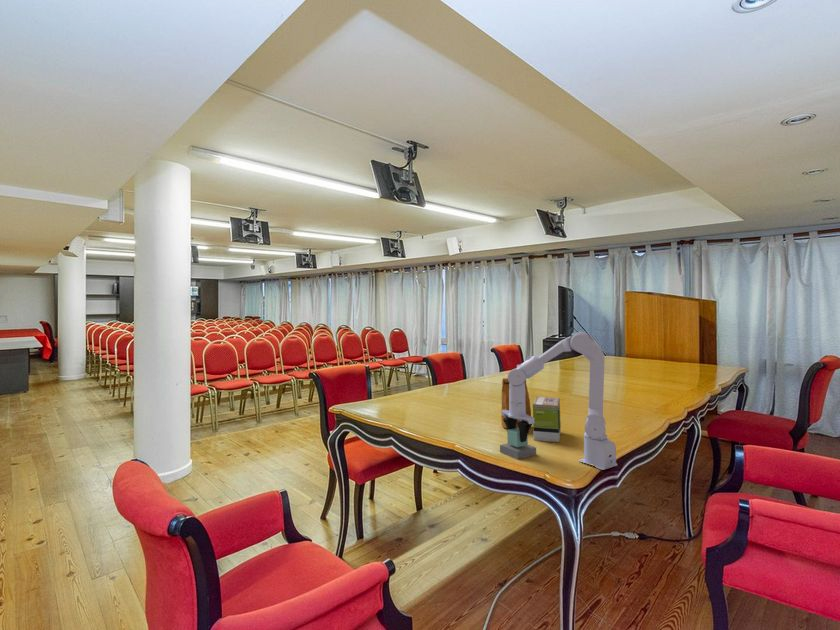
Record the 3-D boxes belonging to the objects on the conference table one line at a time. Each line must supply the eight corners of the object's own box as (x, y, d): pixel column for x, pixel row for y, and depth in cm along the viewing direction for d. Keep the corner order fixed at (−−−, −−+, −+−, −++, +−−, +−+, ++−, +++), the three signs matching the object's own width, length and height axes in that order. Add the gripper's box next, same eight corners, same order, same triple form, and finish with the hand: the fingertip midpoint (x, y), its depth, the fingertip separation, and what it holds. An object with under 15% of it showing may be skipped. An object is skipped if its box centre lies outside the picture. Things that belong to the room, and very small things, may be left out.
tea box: (536, 430, 177) (536, 395, 177) (561, 432, 173) (560, 397, 173) (532, 440, 163) (532, 403, 163) (559, 442, 159) (559, 404, 159)
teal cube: (527, 444, 147) (527, 430, 147) (517, 447, 144) (517, 433, 144) (517, 441, 151) (517, 427, 151) (507, 443, 149) (507, 429, 149)
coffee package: (533, 430, 176) (532, 379, 176) (504, 430, 176) (503, 379, 176) (527, 424, 186) (527, 376, 186) (500, 424, 186) (499, 376, 186)
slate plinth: (536, 454, 146) (536, 447, 146) (517, 459, 142) (517, 451, 142) (518, 447, 154) (518, 440, 154) (500, 451, 149) (499, 444, 149)
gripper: (495, 399, 152) (495, 436, 152) (523, 407, 139) (524, 446, 139) (509, 397, 156) (510, 433, 156) (538, 404, 143) (539, 443, 143)
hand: (517, 439), depth 148 cm, fingers closed on teal cube, 5 cm apart
